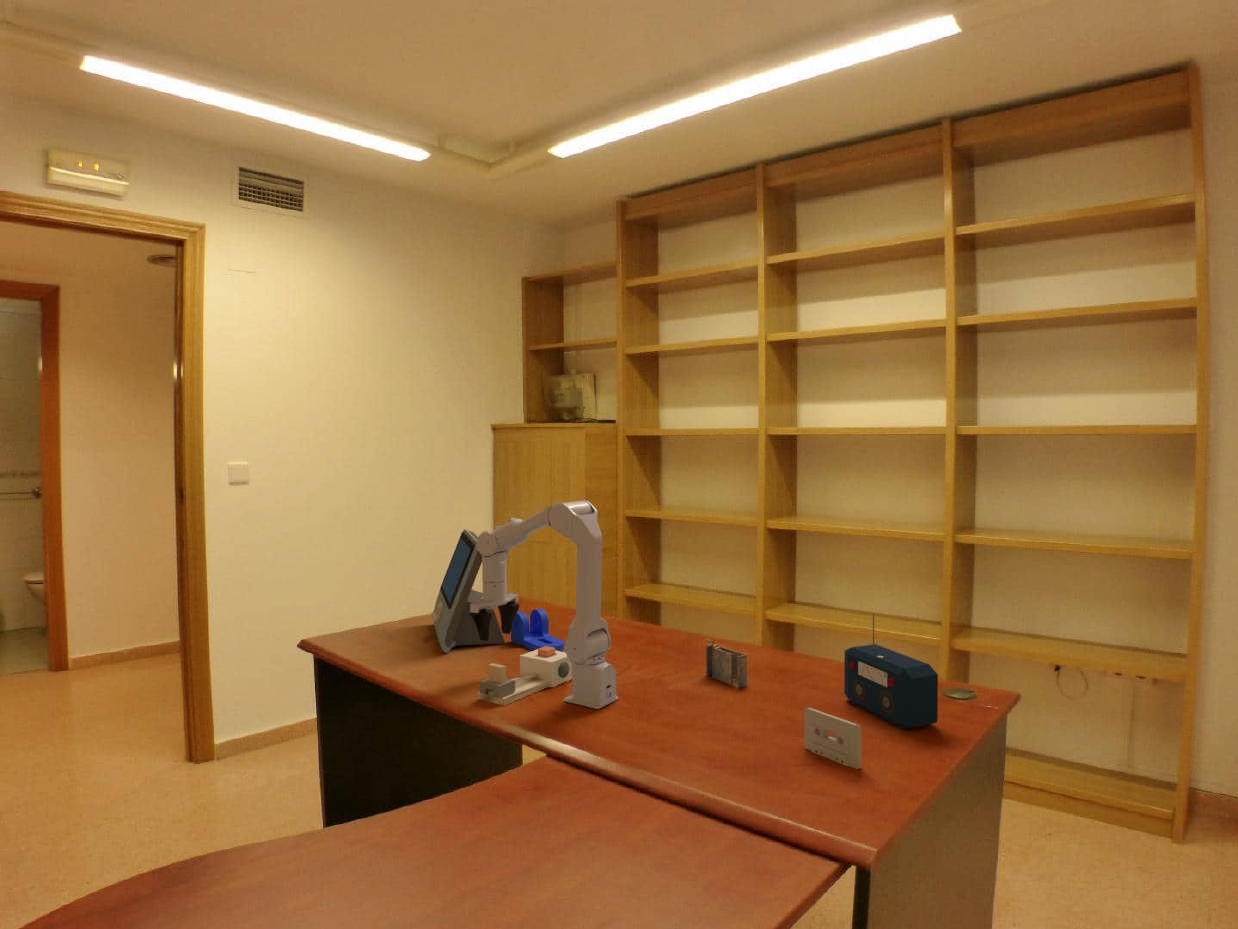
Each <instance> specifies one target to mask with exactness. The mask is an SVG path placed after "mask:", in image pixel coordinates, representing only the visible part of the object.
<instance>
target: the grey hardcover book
mask: <svg viewBox="0 0 1238 929" xmlns="http://www.w3.org/2000/svg"><path fill="white" fill-rule="evenodd" d="M704 639H705V640H706V642H707V643H709V644H710V645H706V646H705V667H706V668H705V670H706V671H705V674H706V675H707V676H712V677H711V678H712V679H715V680H718V681H720V682H722V683H725V684H728V685H730V686H733V687H736V688H738V689H740V688H743V687H747V686H748V680H747V679H748V677H747V676H748V671H747V670H748V666H747V665H748V662H747V661H748V656H747V654H746V653H742V652H739V651H736V650H733V649H730V648H727V647H724V646H720V645H719V644H718V643H717V642H715V640H713V639H709V638H704ZM706 675H705V676H706Z"/></svg>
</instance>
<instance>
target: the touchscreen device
mask: <svg viewBox="0 0 1238 929" xmlns="http://www.w3.org/2000/svg"><path fill="white" fill-rule="evenodd" d="M478 537H479V536H478V535H477V534H476V533H475V532H474V531H471V530H468V529H463V530H462V531H461V533H460V535H459V539H458V541H457V544H456V547H455V549H454V551H453V554H452V557H451V559H450V562H449V565H448V566H447V570H446V572H445V575H444V578H443V580H442V582H441V585H440V589H439V592H438V595H437V598H436V600H435V604H434V609H433V612H432V613H431V614H430V617H431V620H432V622H433V624H434V630H435V633H436V637H437V640H438V642H439V646H440V648H441V650H442V652H443V653H445V654H448V653H449V652H450V650H451V649H452V648H454V647H456V646H476V645H478V646H479V645H481V646H482V645H502V644H503V645H504V644H506V642H505V639H504V638H505V637H504V636H503V633H502V629H501V625H500V624H499V620H498V617H497V615H496V612H495V609H494V607H493V608H490V609H486V611H487V612H488V613H492V617H491V620H490V625H489V639H488V641H483V640H480V637H479V633H478V630H477V627H476V625H475V622H474V620H473V619H472V617H471V616H470V604H472V603H475V602H477V601H479V600H481V597H483V591H477V590H475V589H473V586H474V585H475V581H476V579H477V576H478V572H479V571H480V568H481V567H482V555H481V554H480V552H479V551H478V549H477V539H478Z"/></svg>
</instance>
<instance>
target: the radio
mask: <svg viewBox="0 0 1238 929" xmlns="http://www.w3.org/2000/svg"><path fill="white" fill-rule="evenodd" d="M843 661H844V664H843V665H844V675H843V677H844V681H843V682H844V690H843V692H844V693H843V694H844V695H845V696H846V698H847V699H848V701H849V702H850V703H851V704H852V705H854V706H857V707H858V708H860V709H862V710H865V711H866V712H867V713H870V714H872V715H874V716H876V717H878V718H880V719H882V720H884V721H886V722H888V723H890V724H892V725H894V726H895V727H898V728H900V729H901V730H906V729H907V730H908V729H913V728H919V727H924V726H925V727H926V726H929V725H933V724H935V723H938V719H939V718H938V717H939V716H938V711H939V709H938V708H939V707H938V702H939V701H938V700H939V698H938V697H939V695H938V694H939V692H938V691H939V687H938V686H939V684H938V683H939V679H938V678H939V674H938V673H937V672H936V670H934V668H933V667H932V666H931V665H930V664H929V663H926V662H924V661H921V660H918V659H916V658H913V657H910V656H908V655H905V654H902V653H900V652H897V651H895V650H892V649H890V648H887V647H884V646H882V645H879V644H876V643H875V612H874V613H872V644H867V645H865V644H864V645H859V646H858V645H857V646H850V647H849V648H847V649H845V650H844V660H843Z"/></svg>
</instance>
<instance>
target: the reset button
mask: <svg viewBox="0 0 1238 929" xmlns="http://www.w3.org/2000/svg"><path fill="white" fill-rule="evenodd" d="M554 655H556V649H555V648H553V647H547V646H545V647H542V648H539V649H538V656H541V657H546V658H549V657H552V656H554Z"/></svg>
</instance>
